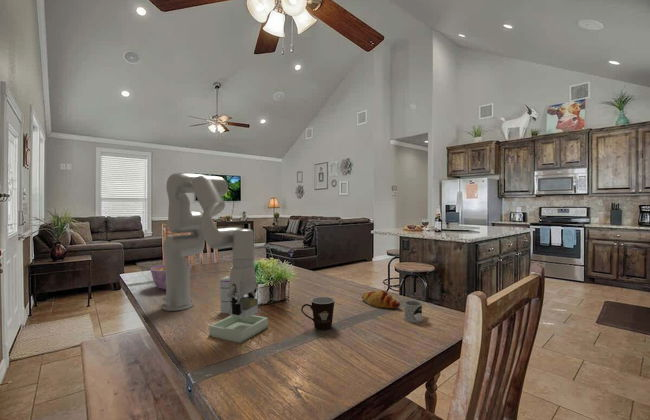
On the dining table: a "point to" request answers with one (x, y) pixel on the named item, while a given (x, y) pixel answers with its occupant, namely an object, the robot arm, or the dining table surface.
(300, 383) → the dining table surface
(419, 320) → the mug
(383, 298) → the croissant
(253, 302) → the open shelf cabinet
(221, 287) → the syrup box
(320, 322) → the coffee mug
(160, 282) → the bowl of food
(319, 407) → the dining table surface
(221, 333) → the tray
